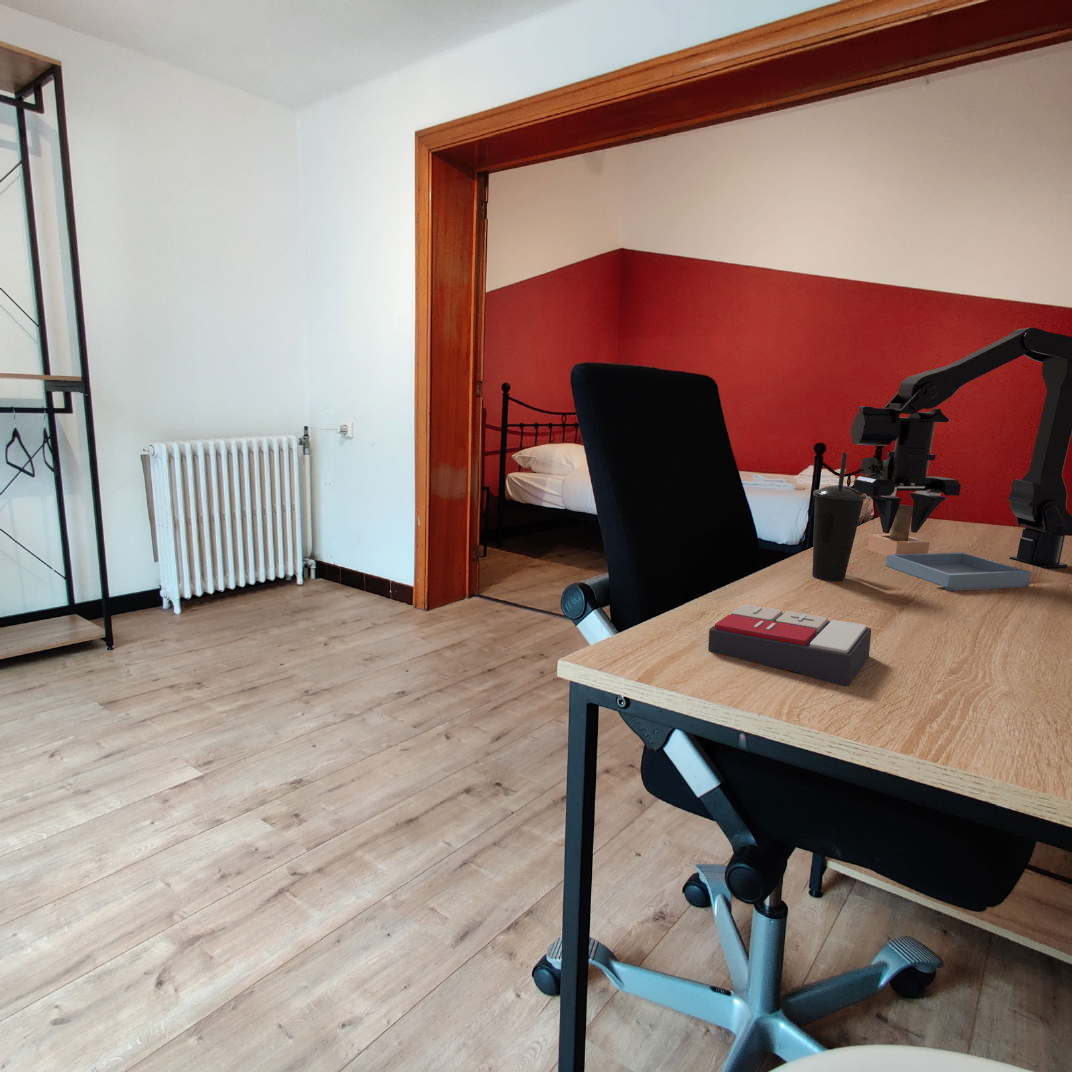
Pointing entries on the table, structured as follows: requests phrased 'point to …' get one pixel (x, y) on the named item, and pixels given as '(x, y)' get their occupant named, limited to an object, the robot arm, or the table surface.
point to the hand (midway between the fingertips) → (899, 532)
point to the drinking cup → (835, 527)
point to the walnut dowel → (901, 523)
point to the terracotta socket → (896, 545)
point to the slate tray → (959, 571)
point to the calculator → (793, 642)
